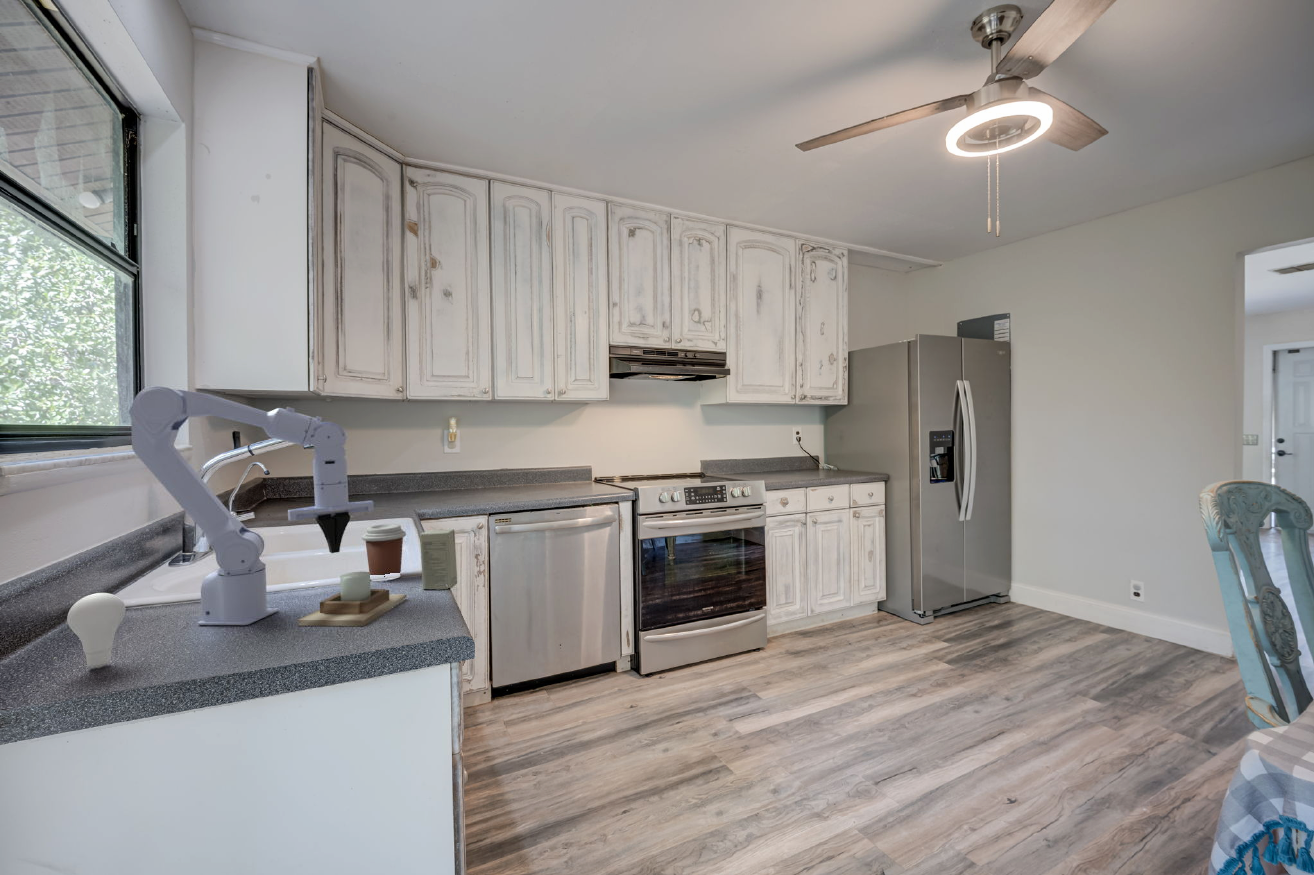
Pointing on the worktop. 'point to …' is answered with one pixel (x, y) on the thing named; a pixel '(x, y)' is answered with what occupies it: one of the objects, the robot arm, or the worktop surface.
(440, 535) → the skincare box
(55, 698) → the worktop surface
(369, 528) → the coffee cup
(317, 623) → the socket board
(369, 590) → the sage cap
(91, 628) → the lightbulb
